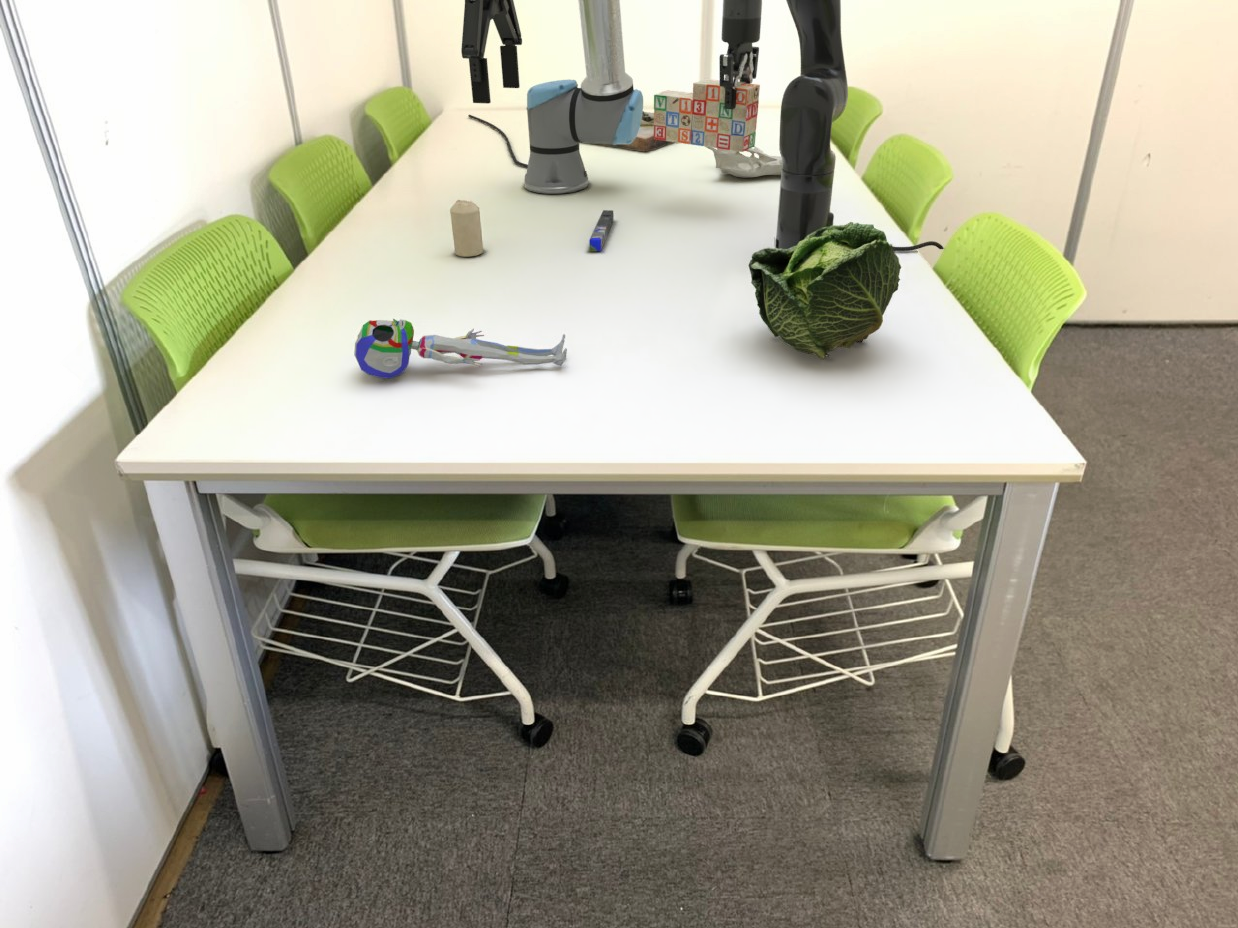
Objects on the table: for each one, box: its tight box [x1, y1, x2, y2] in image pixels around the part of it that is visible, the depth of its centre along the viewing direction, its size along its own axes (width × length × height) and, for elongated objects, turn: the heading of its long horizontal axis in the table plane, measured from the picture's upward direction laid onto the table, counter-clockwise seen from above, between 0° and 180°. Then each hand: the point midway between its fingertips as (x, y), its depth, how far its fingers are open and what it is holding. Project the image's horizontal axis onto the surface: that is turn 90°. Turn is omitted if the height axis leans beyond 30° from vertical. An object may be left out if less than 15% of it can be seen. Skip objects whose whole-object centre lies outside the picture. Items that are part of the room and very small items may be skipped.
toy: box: [353, 318, 568, 379], centre depth 130 cm, size 10×8×30 cm
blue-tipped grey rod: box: [588, 209, 615, 252], centre depth 182 cm, size 2×2×20 cm
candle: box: [449, 199, 484, 258], centre depth 172 cm, size 6×6×10 cm
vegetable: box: [748, 221, 902, 360], centre depth 132 cm, size 20×19×20 cm
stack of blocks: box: [653, 78, 761, 153], centre depth 187 cm, size 21×6×12 cm, turn 59°
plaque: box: [591, 110, 673, 152], centre depth 257 cm, size 30×7×30 cm
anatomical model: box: [705, 146, 782, 178], centre depth 218 cm, size 15×9×25 cm
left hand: (497, 95), depth 148 cm, fingers open, 13 cm apart
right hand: (737, 105), depth 183 cm, fingers closed on stack of blocks, 6 cm apart
